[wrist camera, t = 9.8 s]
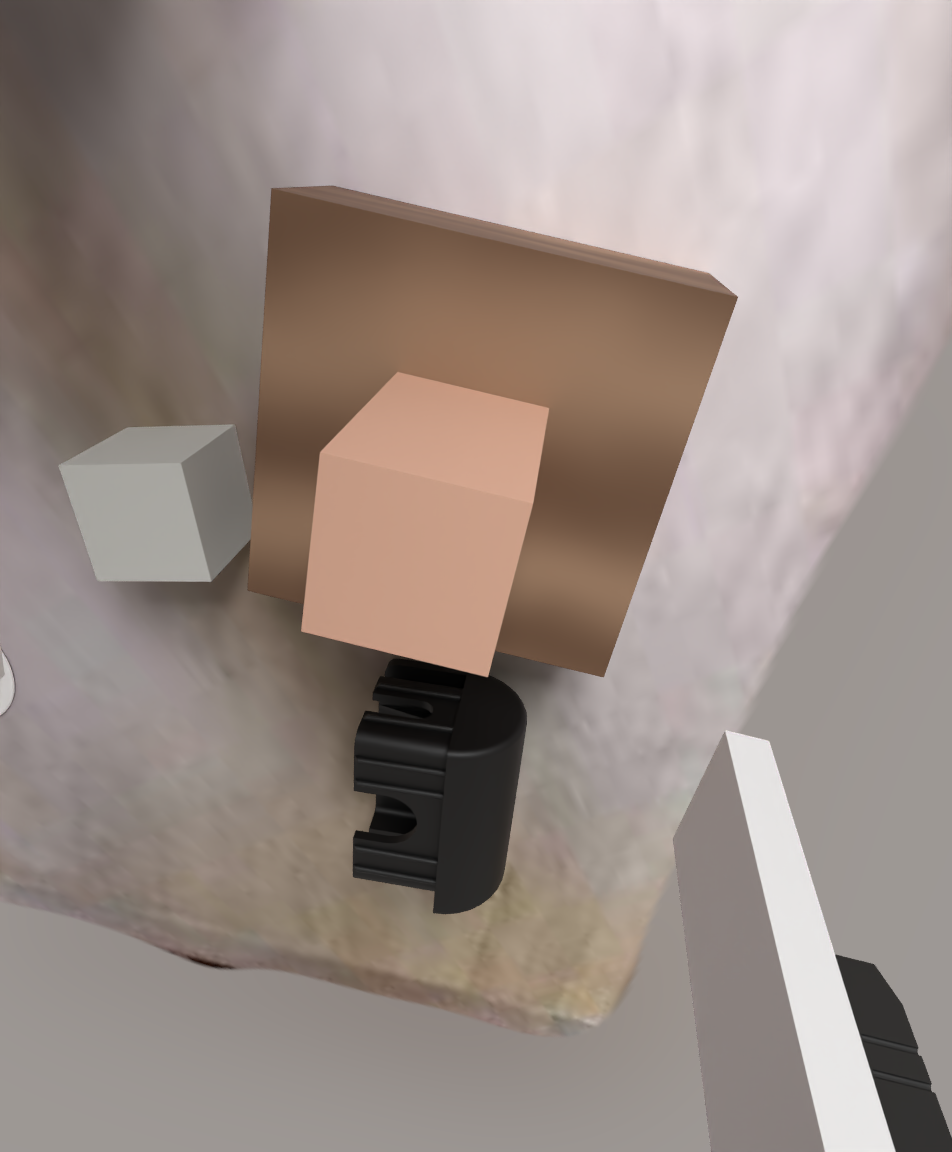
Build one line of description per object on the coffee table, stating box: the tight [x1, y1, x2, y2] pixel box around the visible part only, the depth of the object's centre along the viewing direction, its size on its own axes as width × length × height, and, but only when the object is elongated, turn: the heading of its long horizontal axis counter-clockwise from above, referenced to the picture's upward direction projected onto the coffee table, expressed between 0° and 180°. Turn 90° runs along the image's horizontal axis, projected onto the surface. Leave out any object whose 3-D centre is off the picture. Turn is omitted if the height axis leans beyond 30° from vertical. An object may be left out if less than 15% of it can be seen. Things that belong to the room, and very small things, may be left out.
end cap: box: [353, 659, 527, 914], centre depth 36 cm, size 10×7×7 cm
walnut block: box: [248, 186, 738, 677], centre depth 28 cm, size 14×14×6 cm
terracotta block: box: [301, 372, 549, 677], centre depth 22 cm, size 5×5×8 cm
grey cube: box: [58, 424, 253, 582], centre depth 32 cm, size 5×5×5 cm
